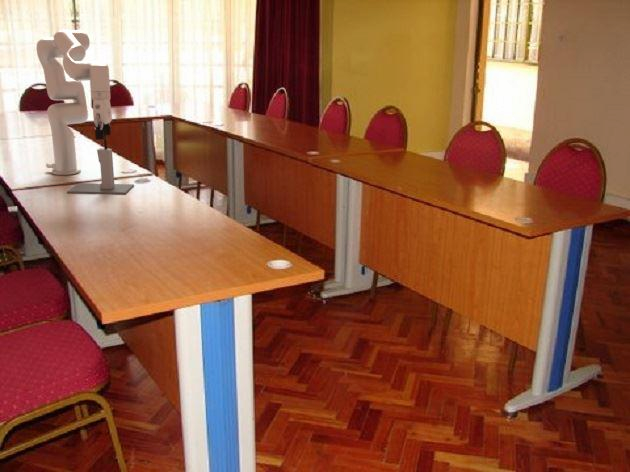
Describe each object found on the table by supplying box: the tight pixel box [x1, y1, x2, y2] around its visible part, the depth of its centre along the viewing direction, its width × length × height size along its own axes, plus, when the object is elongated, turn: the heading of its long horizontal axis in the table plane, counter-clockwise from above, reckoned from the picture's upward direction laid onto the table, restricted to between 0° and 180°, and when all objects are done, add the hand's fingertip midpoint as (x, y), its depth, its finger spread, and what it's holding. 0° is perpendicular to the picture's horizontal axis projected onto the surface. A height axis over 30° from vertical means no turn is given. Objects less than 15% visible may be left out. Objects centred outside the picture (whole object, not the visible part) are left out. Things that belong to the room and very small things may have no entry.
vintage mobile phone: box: [96, 129, 115, 189], centre depth 279 cm, size 4×5×25 cm
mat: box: [66, 182, 135, 195], centre depth 284 cm, size 24×14×1 cm, turn 90°
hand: (103, 137), depth 276 cm, fingers open, 9 cm apart
